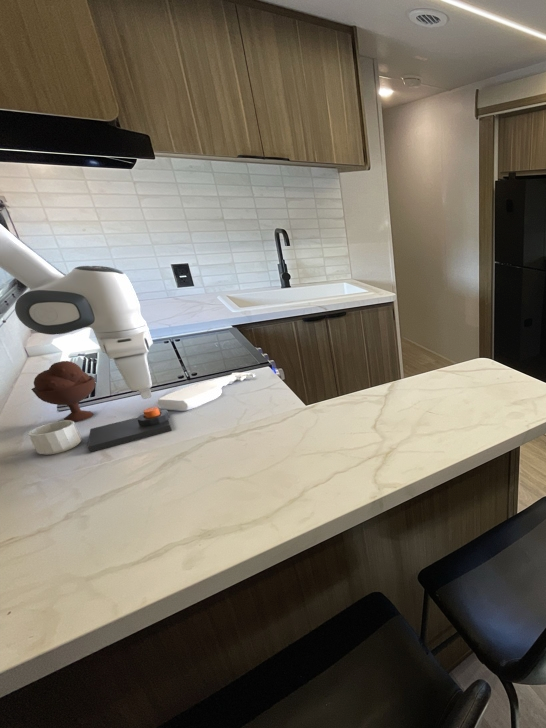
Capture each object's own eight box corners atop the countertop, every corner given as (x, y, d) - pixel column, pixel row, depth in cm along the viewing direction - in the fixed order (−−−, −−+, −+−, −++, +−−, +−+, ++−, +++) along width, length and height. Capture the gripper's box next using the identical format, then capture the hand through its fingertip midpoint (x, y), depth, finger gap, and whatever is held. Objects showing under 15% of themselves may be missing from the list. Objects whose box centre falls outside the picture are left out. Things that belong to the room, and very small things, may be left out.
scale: (90, 452, 86) (85, 440, 85) (92, 434, 94) (87, 422, 93) (173, 429, 95) (169, 418, 94) (169, 414, 103) (165, 404, 102)
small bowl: (36, 459, 84) (25, 438, 82) (40, 447, 89) (30, 427, 87) (81, 447, 88) (72, 427, 86) (83, 436, 93) (74, 417, 91)
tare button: (145, 419, 94) (143, 413, 94) (145, 415, 96) (142, 409, 96) (160, 416, 96) (158, 409, 96) (160, 412, 98) (157, 405, 97)
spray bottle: (155, 409, 106) (231, 377, 128) (189, 412, 104) (260, 379, 126) (151, 399, 105) (228, 368, 127) (186, 402, 103) (258, 370, 125)
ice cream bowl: (100, 405, 109) (79, 352, 104) (112, 415, 103) (90, 360, 98) (44, 420, 101) (18, 364, 96) (53, 432, 95) (26, 373, 90)
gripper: (107, 334, 95) (128, 388, 100) (105, 353, 81) (130, 414, 86) (142, 329, 99) (160, 381, 104) (146, 346, 85) (167, 405, 90)
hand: (147, 396), depth 95 cm, fingers closed
